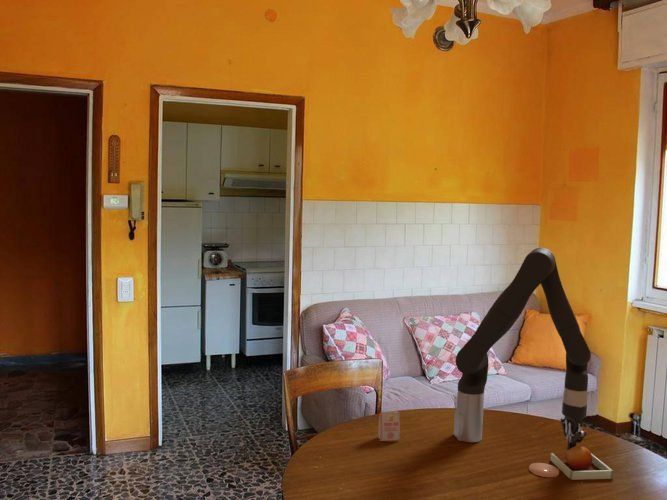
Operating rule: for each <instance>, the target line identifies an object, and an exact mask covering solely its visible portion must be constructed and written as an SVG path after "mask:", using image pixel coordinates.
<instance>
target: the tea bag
mask: <svg viewBox="0 0 667 500" xmlns="http://www.w3.org/2000/svg"><path fill="white" fill-rule="evenodd" d="M400 424H401V420H400V411H380V412H379V418H378V426H377V427H378V428H377V429H378V430H377V438H378V437H379V438H378V440H379V439H380V440H379V442H380V441H387V442H400V434H401V433H400V432H401V431H400V429H401V425H400ZM392 440H394V441H392ZM396 440H398V441H396Z"/></svg>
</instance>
